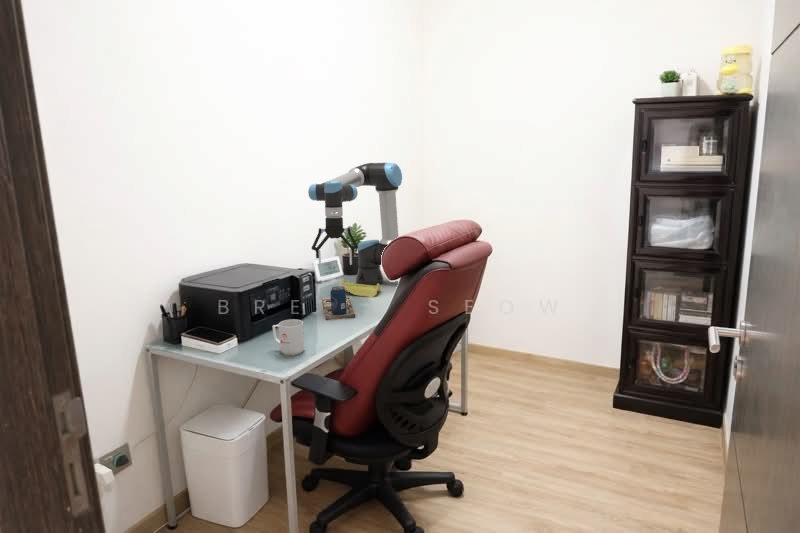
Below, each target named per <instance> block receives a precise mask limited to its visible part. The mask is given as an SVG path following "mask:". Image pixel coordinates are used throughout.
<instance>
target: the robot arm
mask: <svg viewBox="0 0 800 533" xmlns="http://www.w3.org/2000/svg"><path fill="white" fill-rule="evenodd" d="M402 181H403V173H402V170H401V167H400V166H399V165H398V164H397V163H395V162H394V163H393V162H368V163H367V162H366V163H364V164H360V165H358V166H354V167H353V168H351V169H349V171H348V172H347V173H344V174H341V175H339V176H337V177H335V178H332V179H329V180H326V181H325V182H322V183H319V184H318V183H315V184H314V183H313V184H310V186H309V188H308V190H307V193H308V197H309V199H310V200H311V201H317V202H324V214H325V228H321V227H319V228H318V230H317V231H318V233H317V235H316V237H315V240H314V241H313V244H312V246H311V250H312V251H314V252H315V258H316V259H318V266H319V267H321V266H322V263H321V262H322V261H321V250H320V249H321V248H322V247H323V246H324V244H325V243H326V242H327V241H328V239H339V238H340V239H342V241H343V242H344V243H345V244H346V245H347V246H348V247H349V248H350V249H349V250H348V251H349V265H350V266H351V265H353V258H354V257H355V250H357V259H358V270H357V273H356V278H355V284H364V285H373V286H377V284H380V285H382V284H383V283H385V282H384V276H383V272H382V270H381V266H382V265H381V255H382V252H383V250H384V248H385V247H386V246H387V245H388V244H389V243H390V242H391V241H392V240H394V239H395V238H397V237H399V226H398V225H399V223H398V222H399V221H398V210H397V209H398V208H397V195H396V194H397V191H398V190H399V187H400V186H401V185H402V183H403V182H402ZM361 186H362V187H363V186H364V187H365V186H367V187H368V186H369V187H375V191H376V193H378V201H379V212H380V225H381V226H380V227H381V239H380V240H379V239H368V240H363V241H360V242H359V243H358V244H357V242H356V239H355V238H354V236H353V235H352V231H351V228H350V227H345V228H344V219H343V215H344V214H343V213H344V212H343V211H344V210H343V203H344V202H346V203H347V202H352V201H354V200H356V199H357V196H358V189H357V188H358V187H361ZM324 232H325V234H326V235H325V237H323V239H322V240H321V242H319V241H320V239H321V236H322V235H323V234H324ZM343 233H346V234H348V236H349V239H351V242H352V244H353V245H352V244H351V242H350V241H349V240H348V239H347V238H346V237H345V236H344V235H343ZM318 242H319V244H318ZM317 244H318V245H317ZM316 246H317V247H316Z"/></svg>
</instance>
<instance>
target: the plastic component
mask: <svg viewBox="0 0 800 533" xmlns="http://www.w3.org/2000/svg"><path fill="white" fill-rule="evenodd" d="M340 281H341V284H342V287H344V289H345V291H346V293H349V292H350V294H352V295H354V296H359V297H365V298H366V297H368V298H374V297H376V296H377V294H378V293H380V292H381V289H382V288H381V287H382V284H377V285H364V284H356V282H355V283H354V282H348V281H345V280H343V279H341V280H340Z"/></svg>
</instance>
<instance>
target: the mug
mask: <svg viewBox="0 0 800 533" xmlns="http://www.w3.org/2000/svg"><path fill="white" fill-rule="evenodd" d="M276 327H277V328H278V337H279V338H278V337H277V330H276ZM271 328H272V332H273V334H272V335H273V340H274V342H276V343H277V344H278V345H279V350H280V352H281V353H282V355H285V356H297V355H300V354H302V353H303V351H304V350H305V348H306V347H305V336H304V335H305V331H304V321H303V320H300V319H295V318H293V319H285V320H281V321H280V322H278V324H273V325H272V327H271Z"/></svg>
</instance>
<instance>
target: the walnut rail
mask: <svg viewBox="0 0 800 533" xmlns="http://www.w3.org/2000/svg"><path fill="white" fill-rule="evenodd" d="M346 301H347V302H346V303H347V304H348V305H347V309H349V310H350V311H349V310H348V311H349V312H350V313H345V315H333V314H332V315H329V312H331V305H328V306H327V304H328V303H327V302H330V303H331V298H324V299H322V300H321V303H322V307H323V313H324V318H325V321H329V320H330V321H331V320H332V321H333V320H341V319H342V318H345V319H355V318H356V313H355V311H354V308H353V305H352V303H351V300H350V298H349V297H346Z"/></svg>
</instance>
